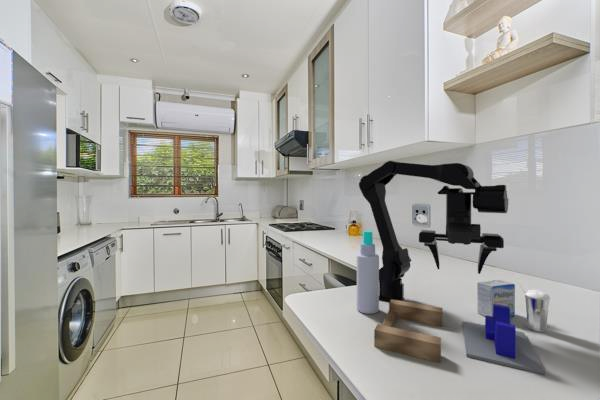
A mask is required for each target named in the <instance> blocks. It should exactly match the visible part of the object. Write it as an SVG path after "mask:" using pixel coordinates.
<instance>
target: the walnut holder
mask: <svg viewBox="0 0 600 400" xmlns="http://www.w3.org/2000/svg"><path fill="white" fill-rule="evenodd" d="M397 319H402V320H407V321H412V322H413V321H414V322H418V323H421V324H422V323H423V324H428V325H432V326H436V327H437V326H438V327H443V307H440V306H433V305H427V304H422V303H415V302H409V301H403V300H401V301H399V300H393V299H391V301H388V312H387V314H386V315H385V317H384V320H383V322H382V324H379V323H377V324H376V326H375V328H374V333H373V334H374V335H373V336H374V337H373V341H374V343H373V344H374V345H373V346H374V347H376V348H380V349H385V350H388V351H391V352H396V353H399V354H403V355H407V356H412V357H416V358H419V359H423V360H427V361H431V362H436V363H439V364H440V363H441V356H442V355H441V354H442V337H439V336H436V335H435V336H434V335H429V334H426V333H422V332H421V333H420V332H416V331H412V330H411V331H410V330H407V329H404V328H403V329H402V328H397V327H394V325H395V324H396V321H397Z"/></svg>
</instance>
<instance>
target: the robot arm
mask: <svg viewBox="0 0 600 400" xmlns="http://www.w3.org/2000/svg"><path fill="white" fill-rule="evenodd" d="M396 175H403V176H410V177H419V178H426V179H431V180H434V181H437V182H440V183H443V184H447V185H444V186H443V187H441V189H440V190H439V191H438V192H437V194H438V195H445V197H446V198H445V200H446V201H445V203H446V204H445V205H446V206H445V208H446V209H445V210H446V211H445V217H446V218H445V233H436V230H431V229H428V230H427V229H423V230H421V231H420V232H419V233H418V242H419V243H423V245H424V247H428V248H429V250H430V253H431V254H432V257H433V259H434V263H435V266H436V269H437V270H440V257H439V249H438V248H439V247H438V242H437V241H440V242H441V241H442V242H448V243H449V244H452V245H453V244H461V245H471V244H472V243H473V244H480V245H479V246H480V247H479V253H478V262H477V274H478V275H480V274H481V272H482V269H483V268H484V265H485V262H486V260H487V258H488V257H489V255H490V254H491V253H492V252H497V250H498V249H504V247H505V246H504V244H505V241H504V240H505V239H504V237H503V236H501V235H500V234H499V233H490V232H489V233H487V232H485V233H482V231H481V224H480V223H472V208H473V209H476V210H477V212H478V213H482V214H483V213H485V214H490V213H492V214H507V213H508V210H509V198H508V192H507V185H506V184H496V185H481V183H480V182H479V181H478V180H477V179H476V178H475V177H474V175H475V174H474V170H473V169H472V168H471V167H470V165H466V164H463V163H460V162H459V163H458V162H453V163H452V162H451V163H441V164H434V165H433V164H421V163H411V162H410V163H409V162H399V161H394V160H388V161H386V162H384V163H383V164H382V165H381V166H379V167H377V168H376V169H374V170H373V171H371V172H370V173H368V174H367V175H366V174H365V175H364V176H361V178H360V179H359V182H358V188H359V191H360V192H361V194H362V196H363V198H364V199H365V200H366V201H367V202H368V203H369V205H370V206H369V207H370V208H371V212H372V215H373V219H374V222H375V227H376V229H377V232H378V235H379V238H380V243H381V246H382V254H381V262H382V267H380V268H379V301H384V302H390V301H391V299H393V300H399V301H403V300H404V297H405V296H404V295H405V294H404V293H405V289H404V288H405V286H404V285H405V283H403V280H402V279H403V278H404V277H405V274H406V273H407V272H408V271H409V270H410V268H411V262H412V259H411V257H410V255H409V250H408V248H403V247H402V246H401V245H400V244H399V241H398V238H397V235H396V232H395V229H394V226H393V223H392V219H391V216H390V213H389V210H388V207H387V206H388V205H387V203H386V194H387V193H386V192H387V191H386V186H387V185H388V184H389V183H390V182H391V181H392V180H393V179H394V177H395V176H396ZM448 185H450V186H454V188H453V187H449V186H448ZM455 186H456V188H455ZM463 189H465V190H474V191H465V192H464V190H463Z"/></svg>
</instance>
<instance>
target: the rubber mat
mask: <svg viewBox="0 0 600 400" xmlns="http://www.w3.org/2000/svg"><path fill="white" fill-rule="evenodd" d="M462 329H463V336H464V337H463V339H464V346H465V355H466V357H467V358H471V359H475V360H480V361H484V362H489V363H492V364H497V365H501V366H506V367H510V368H514V369H517V370H523V371H526V372H531V373H535V374H540V375H544V376H545V375H546V371H545V368H544V366H543V365H542V363H541V361H540V359H539V357H538V355H537V354H536V352H535V351H534V349H533V346H532V344H531V343H530V341H529V340H528V337H527V336H526V334H525V331H524V332H523V331H520V330H519V331H518V330H516V340H515V359H513V358H509V357H505V356H501V355H497V354H496V350H495V342H494V341H493V340H489V339H486V332H485V324H482V323H476V322H470V321H464V320H462Z"/></svg>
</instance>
